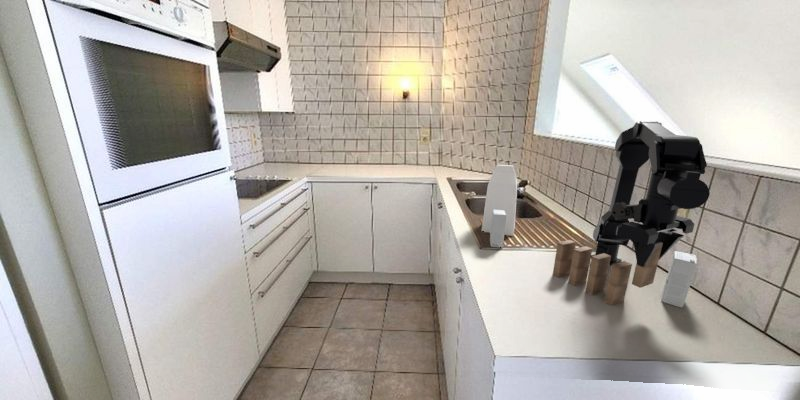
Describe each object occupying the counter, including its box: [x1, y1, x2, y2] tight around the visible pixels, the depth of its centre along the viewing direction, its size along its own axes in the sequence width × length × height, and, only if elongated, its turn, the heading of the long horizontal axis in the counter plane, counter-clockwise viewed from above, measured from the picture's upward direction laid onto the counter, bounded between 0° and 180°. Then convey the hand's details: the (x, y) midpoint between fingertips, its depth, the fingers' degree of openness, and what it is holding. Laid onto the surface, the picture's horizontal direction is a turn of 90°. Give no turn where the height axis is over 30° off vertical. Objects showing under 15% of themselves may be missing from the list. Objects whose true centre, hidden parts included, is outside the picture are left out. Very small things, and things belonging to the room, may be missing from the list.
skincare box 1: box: [489, 210, 507, 248], centre depth 111 cm, size 6×4×12 cm
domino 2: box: [567, 245, 593, 286], centre depth 86 cm, size 5×2×10 cm, turn 116°
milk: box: [481, 164, 518, 237], centre depth 125 cm, size 12×12×26 cm
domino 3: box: [584, 253, 611, 296], centre depth 82 cm, size 5×2×10 cm, turn 116°
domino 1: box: [552, 239, 576, 278], centre depth 90 cm, size 5×2×10 cm, turn 115°
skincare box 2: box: [660, 250, 698, 308], centre depth 78 cm, size 6×4×12 cm
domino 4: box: [603, 260, 633, 306], centre depth 77 cm, size 5×2×10 cm, turn 116°
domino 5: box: [631, 242, 663, 288], centre depth 71 cm, size 5×2×10 cm, turn 115°
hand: (647, 263), depth 71 cm, fingers closed on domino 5, 5 cm apart
